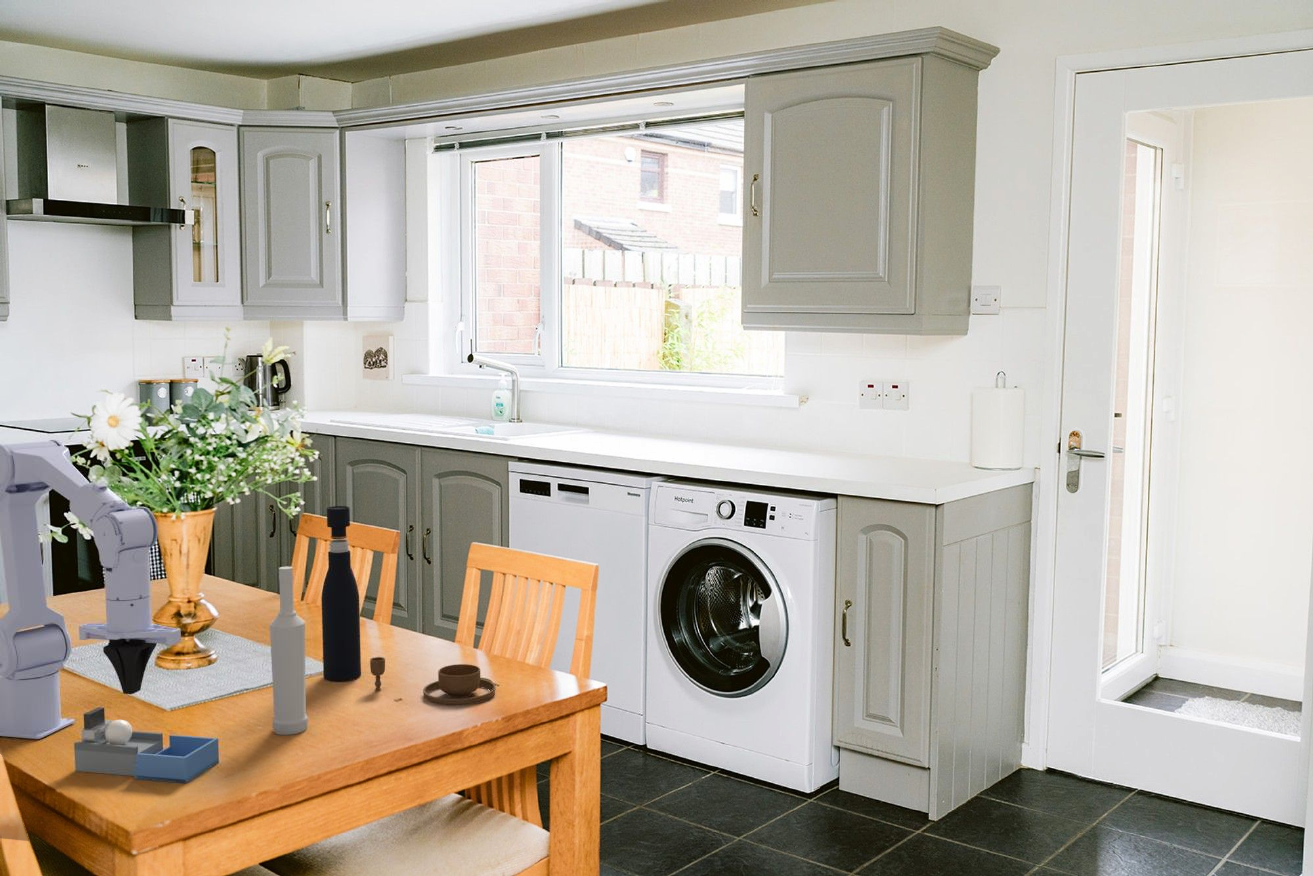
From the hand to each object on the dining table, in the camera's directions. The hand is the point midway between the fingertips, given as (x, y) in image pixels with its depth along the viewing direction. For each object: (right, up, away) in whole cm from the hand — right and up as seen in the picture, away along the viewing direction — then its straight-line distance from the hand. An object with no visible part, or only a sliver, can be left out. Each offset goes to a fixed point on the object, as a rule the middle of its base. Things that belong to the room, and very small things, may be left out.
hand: (131, 692), depth 163 cm
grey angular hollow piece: (-5, -7, 0) cm, 9 cm away
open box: (+7, -11, -2) cm, 13 cm away
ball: (-2, -6, 0) cm, 6 cm away
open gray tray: (-1, -10, 0) cm, 10 cm away
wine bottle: (+18, -7, +42) cm, 47 cm away
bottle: (+18, -9, +15) cm, 25 cm away
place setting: (+37, -8, +35) cm, 51 cm away
